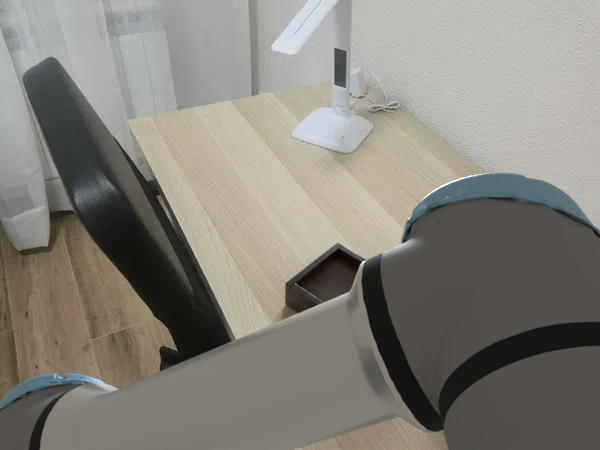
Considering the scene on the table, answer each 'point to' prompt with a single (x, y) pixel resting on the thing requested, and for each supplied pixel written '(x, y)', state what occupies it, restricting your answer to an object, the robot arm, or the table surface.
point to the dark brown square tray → (323, 279)
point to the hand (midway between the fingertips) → (470, 348)
